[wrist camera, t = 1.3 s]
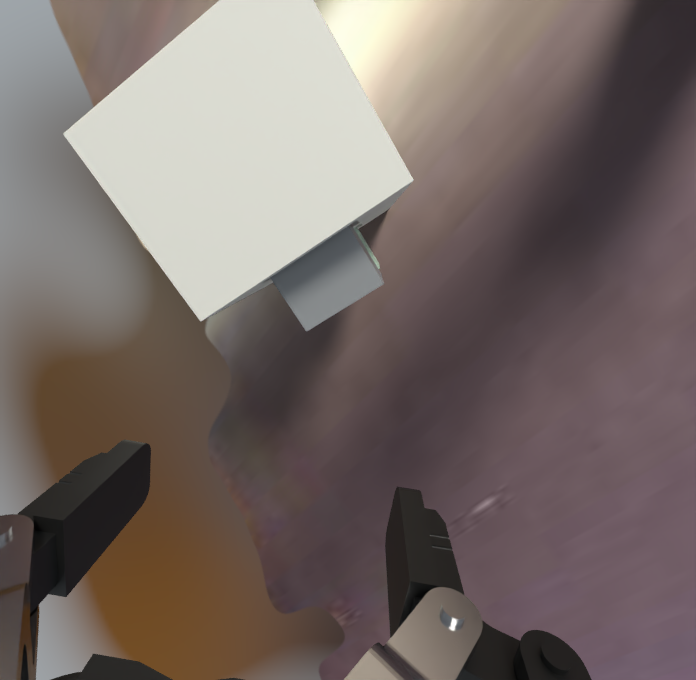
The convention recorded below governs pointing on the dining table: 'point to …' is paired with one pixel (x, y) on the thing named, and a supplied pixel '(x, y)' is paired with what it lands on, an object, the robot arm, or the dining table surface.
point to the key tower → (241, 149)
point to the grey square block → (328, 278)
